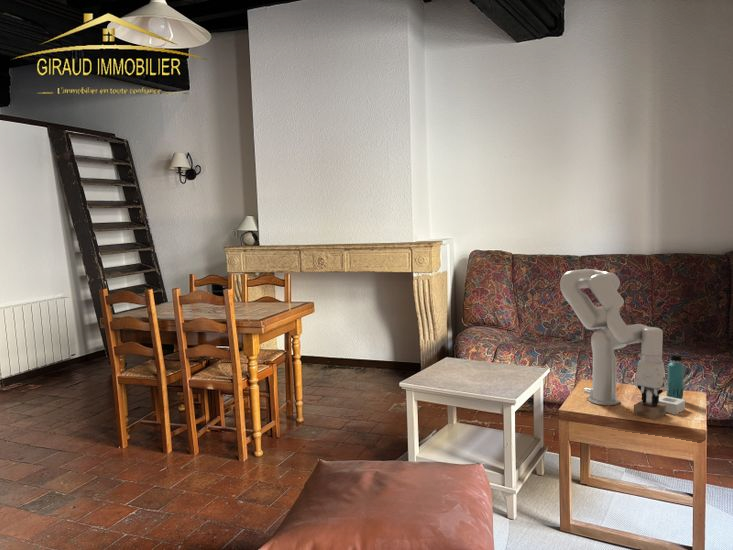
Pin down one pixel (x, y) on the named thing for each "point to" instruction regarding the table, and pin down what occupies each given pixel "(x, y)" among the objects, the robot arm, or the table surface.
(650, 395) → the steel peg
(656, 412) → the socket block
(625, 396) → the table surface
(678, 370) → the beverage bottle
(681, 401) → the block
